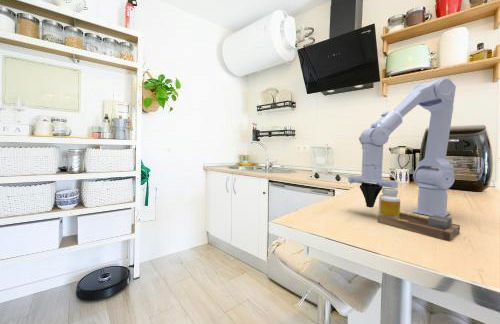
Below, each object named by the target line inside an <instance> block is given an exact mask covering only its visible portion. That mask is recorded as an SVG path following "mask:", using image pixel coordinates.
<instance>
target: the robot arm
mask: <svg viewBox="0 0 500 324" xmlns="http://www.w3.org/2000/svg"><path fill="white" fill-rule="evenodd" d="M456 87H457V86H456V84H455V83H454V82H453V81H452V80H451V79H450V78H448V77H445V76H444V77H440V78H438V79H435V80H433V81H430V82H427V83H423V84H418V85H416V86H414V87H413V88H412V89H411V90H410V91H409V92H408V94H407V95H406V96H405V98H404V99H402V101H401V102H400V103H399V104H398V105H397V106H396V107H395V108H394V109H393V110H389V111H385V112H382V113H381V114H380V116H381V117H380V118H378V120H376V121H375V122H373V123H371V125H370V127H369V128H366V129H364V130H363V131H362V132H361V133H360V136H358V141H359V143H360V146H361V150H362V155H361V157H362V158H361V176H353V175H351V176H348V183H356V184H360V185H359V189H360V191H361V193H362V194H363V197H364V201H365V206H366V207H367V208H370V209H371V208H373V207H375V203H376V200H377V198H378V196H379V194H380V192H382V189H383V188H393V189H398V188H399V181H396V180H390V179H389V180H388V179H383V160H384V159H383V158H384V157H383V156H384V145H385V144H387V143H388V141H389V139H390V135H391V134H392V133H393V132H394V131H395V130H396V129H397V128H398V127H400V126H401V124H402V123H403V118H404V117H405V116H406V115H407V114H408V113H409V112H411V111H412V110H413V109H414V108H416V106H419V107H422V108H423V109H425V110H426V111H428V112H430V118H429V124H428V132H427V139H426V145H425V151H424V158H423V159H422V160H420V161H419V162H418V163H417V164H416V168H415V169H414V171H413V173H412V174H413V175H412V176H413V177H412V179H413V181H414V182H415V184H416V187H418V194H417V208H416V209H414V210H412V213H415V214H420V215H426V216H429V217H431V216H433V215H439V216H444V217H448V215H450V214H451V212H450V211H447V209H448V208H447V207H448V193H447V190H449V189H450V188H452V186H453V184H454V183H455V174H454V173H455V172H454V168H455V166H454V165H452V164H451V163H450V162H449V161H447V160H446V159H447V152H448V151H447V150H448V146H449V139H450V138H449V137H450V134H451V133H450V132H451V126H452V119H453V111H454V103H455V102H454V101H455V96H456Z"/></svg>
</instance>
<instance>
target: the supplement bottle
mask: <svg viewBox="0 0 500 324" xmlns="http://www.w3.org/2000/svg"><path fill="white" fill-rule="evenodd" d="M381 193H382V194H381V195H379V200H378V214H377V215H378V216H379V215H383V216H387V217H392V218H396V219H399V216H400V213H401V198H400V197H399V195H398V194H399V189H398V188H391V187H383V188H382V190H381ZM378 216H377V217H378Z"/></svg>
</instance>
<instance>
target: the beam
mask: <svg viewBox="0 0 500 324" xmlns="http://www.w3.org/2000/svg"><path fill="white" fill-rule="evenodd" d="M378 215H379V214H378ZM452 221H453V218H452V217H449V216H445V217H444V216H439V215H433V216H429V217H428V218H427V217H423V216H420V215H417V214H413V213H405V212H400V216H399V219H396V218H392V217H387V216H383V215H379V216H377V223H379V224H383V225H387V226H390V227H393V228H394V227H395V228H397V229H403V230H406V231H409V232H410V231H411V232H413V233H417V234H422V235H425V236H428V237H432V238H437V239H440V240H444V241H448V242H450V241H452V240H453V239H454V238H455V237H456V236H458V234H460V229H461V225H460V224H455V223H453V222H452Z"/></svg>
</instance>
